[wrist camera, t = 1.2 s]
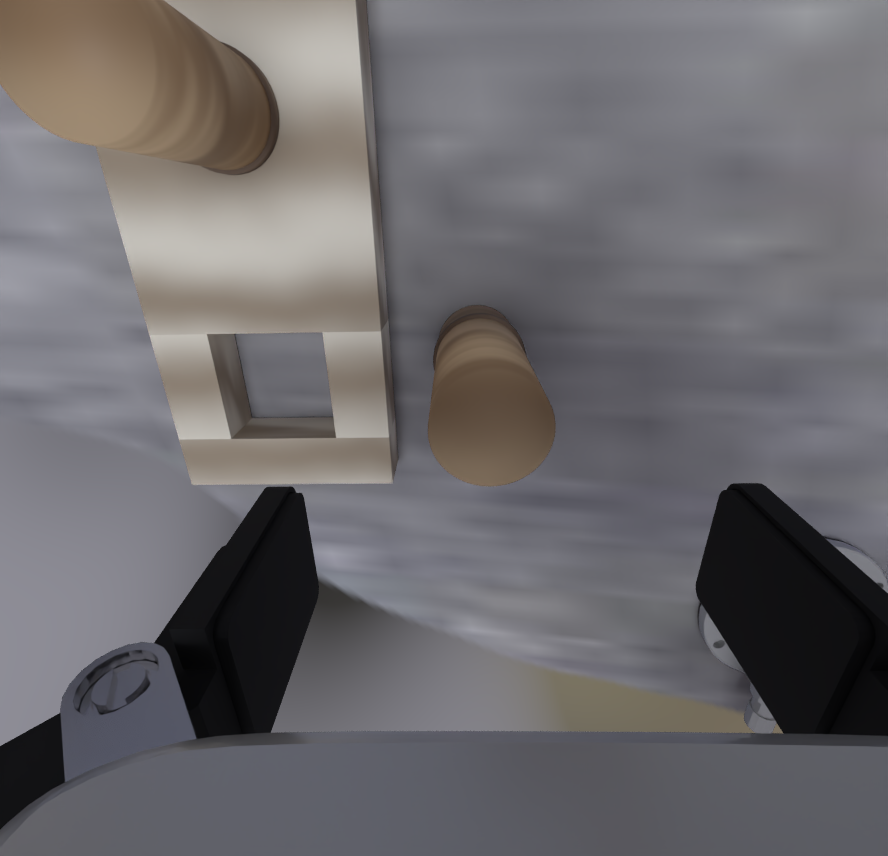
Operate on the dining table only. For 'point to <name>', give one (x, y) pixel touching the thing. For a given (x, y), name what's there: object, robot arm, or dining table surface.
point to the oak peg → (486, 401)
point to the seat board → (233, 206)
